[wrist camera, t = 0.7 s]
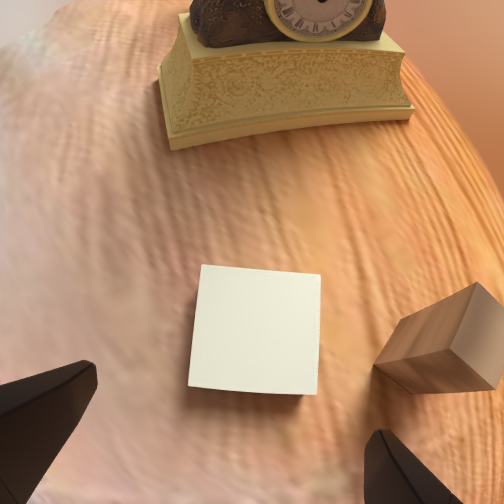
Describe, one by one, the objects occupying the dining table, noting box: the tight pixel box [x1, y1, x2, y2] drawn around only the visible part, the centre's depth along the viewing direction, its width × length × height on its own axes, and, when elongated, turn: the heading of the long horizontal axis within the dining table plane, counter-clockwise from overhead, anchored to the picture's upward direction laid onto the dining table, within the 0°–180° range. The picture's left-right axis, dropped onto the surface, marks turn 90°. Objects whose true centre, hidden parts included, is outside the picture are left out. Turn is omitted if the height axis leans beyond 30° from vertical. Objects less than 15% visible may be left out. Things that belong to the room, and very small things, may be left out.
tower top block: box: [188, 264, 321, 395], centre depth 21 cm, size 8×8×2 cm
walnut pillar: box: [373, 282, 504, 394], centre depth 18 cm, size 4×4×10 cm
